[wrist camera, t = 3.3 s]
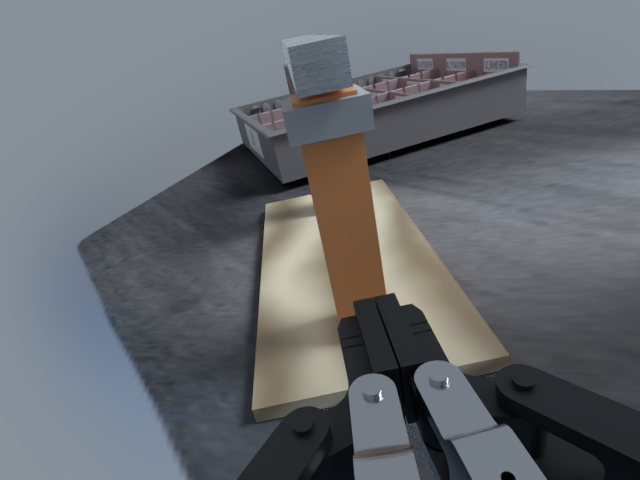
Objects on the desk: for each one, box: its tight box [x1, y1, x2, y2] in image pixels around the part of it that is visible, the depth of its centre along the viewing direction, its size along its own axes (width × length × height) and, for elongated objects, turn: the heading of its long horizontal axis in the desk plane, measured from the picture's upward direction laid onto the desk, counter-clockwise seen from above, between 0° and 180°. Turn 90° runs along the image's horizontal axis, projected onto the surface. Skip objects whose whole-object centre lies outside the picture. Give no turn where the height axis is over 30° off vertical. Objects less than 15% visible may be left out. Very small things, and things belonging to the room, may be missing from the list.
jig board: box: [252, 179, 510, 423], centre depth 36 cm, size 14×30×1 cm, turn 5°
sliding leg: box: [281, 84, 386, 323], centre depth 23 cm, size 4×4×14 cm
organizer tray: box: [229, 51, 534, 184], centre depth 69 cm, size 32×40×10 cm
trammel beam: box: [282, 35, 353, 98], centre depth 32 cm, size 3×27×17 cm, turn 5°
